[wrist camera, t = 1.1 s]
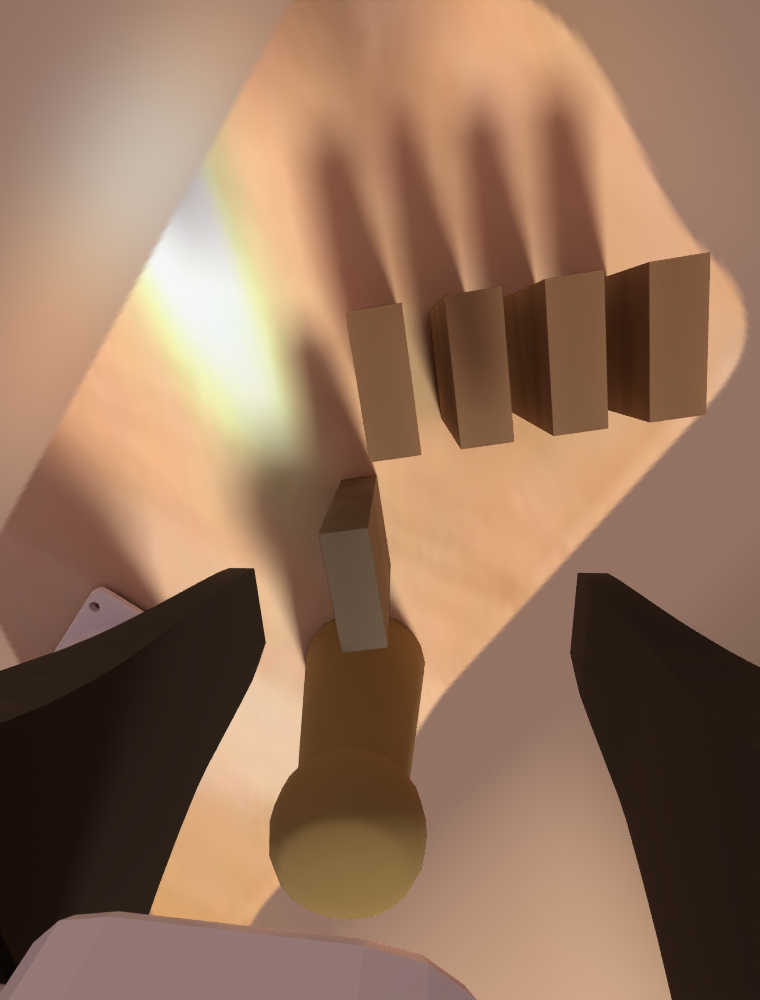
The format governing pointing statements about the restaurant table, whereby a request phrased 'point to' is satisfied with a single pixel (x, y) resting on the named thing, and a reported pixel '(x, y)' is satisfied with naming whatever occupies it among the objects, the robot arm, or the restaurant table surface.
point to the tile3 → (473, 367)
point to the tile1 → (358, 564)
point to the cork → (353, 780)
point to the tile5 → (658, 338)
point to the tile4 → (559, 353)
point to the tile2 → (384, 382)
